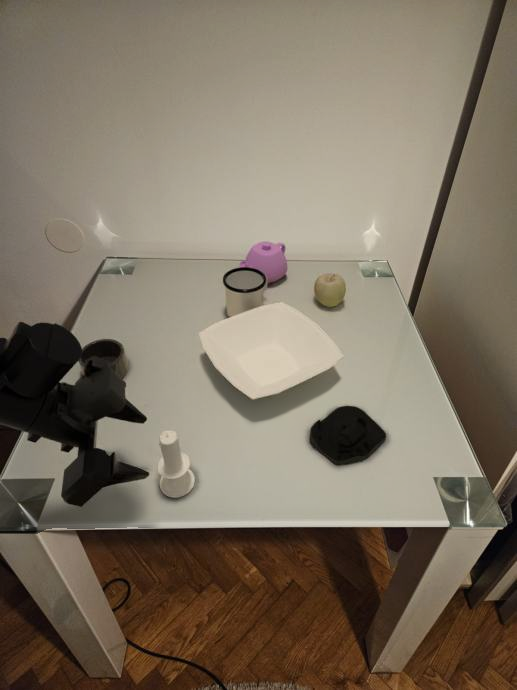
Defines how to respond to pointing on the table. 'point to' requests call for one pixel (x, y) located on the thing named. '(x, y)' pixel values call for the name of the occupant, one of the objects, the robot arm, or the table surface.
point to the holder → (106, 354)
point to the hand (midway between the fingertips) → (146, 446)
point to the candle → (174, 467)
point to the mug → (244, 289)
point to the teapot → (267, 260)
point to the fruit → (330, 289)
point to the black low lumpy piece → (346, 435)
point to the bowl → (269, 349)
